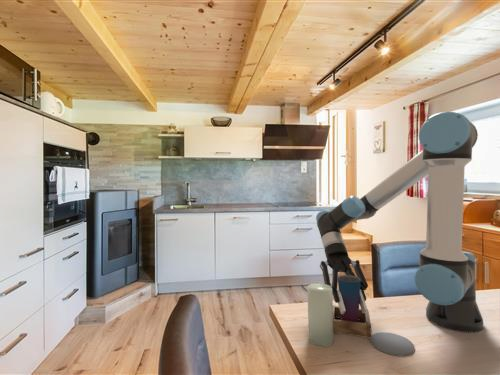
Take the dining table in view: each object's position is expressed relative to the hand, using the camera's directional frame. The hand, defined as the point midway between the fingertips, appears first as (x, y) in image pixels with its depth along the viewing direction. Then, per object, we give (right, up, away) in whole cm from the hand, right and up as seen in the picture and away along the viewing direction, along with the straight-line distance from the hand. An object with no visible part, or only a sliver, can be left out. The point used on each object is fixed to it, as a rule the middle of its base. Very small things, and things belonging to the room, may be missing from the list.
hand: (354, 311), depth 87 cm
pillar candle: (-11, -6, -4) cm, 13 cm away
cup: (0, -6, +4) cm, 7 cm away
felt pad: (+8, -6, -7) cm, 12 cm away
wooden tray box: (0, -6, +4) cm, 7 cm away
